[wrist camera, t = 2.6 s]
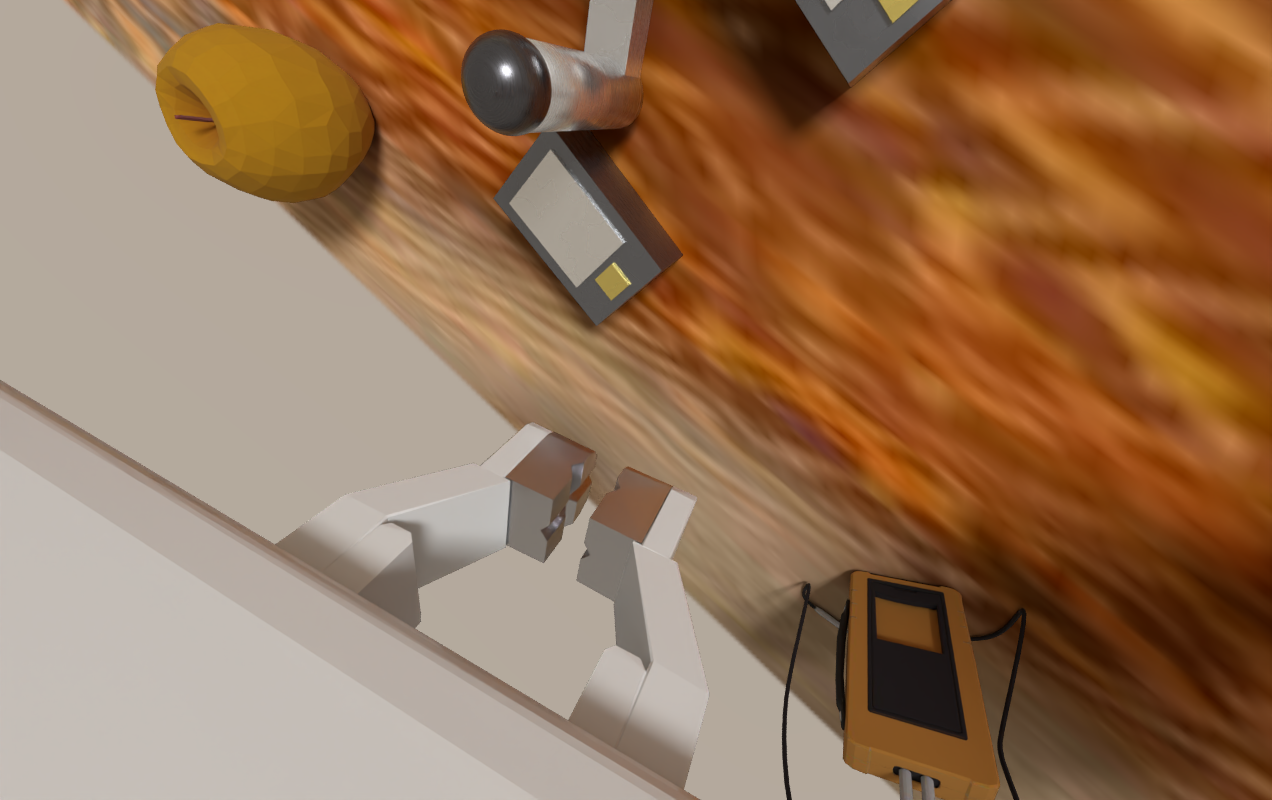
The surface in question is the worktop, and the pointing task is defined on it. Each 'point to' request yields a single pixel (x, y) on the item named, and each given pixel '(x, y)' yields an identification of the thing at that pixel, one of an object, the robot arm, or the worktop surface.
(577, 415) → the worktop surface
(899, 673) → the multimeter
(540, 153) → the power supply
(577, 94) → the grey crank handle
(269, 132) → the apple
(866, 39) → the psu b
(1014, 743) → the worktop surface
